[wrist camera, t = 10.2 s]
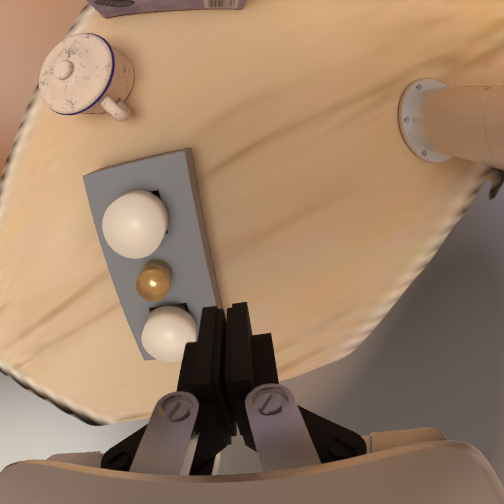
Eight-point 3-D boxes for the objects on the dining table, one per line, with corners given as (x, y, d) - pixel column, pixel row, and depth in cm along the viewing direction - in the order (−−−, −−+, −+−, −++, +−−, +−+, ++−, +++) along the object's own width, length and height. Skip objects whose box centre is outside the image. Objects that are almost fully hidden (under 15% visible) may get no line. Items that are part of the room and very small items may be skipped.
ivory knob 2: (193, 279, 41) (187, 317, 33) (203, 318, 44) (200, 359, 36) (149, 285, 41) (133, 323, 33) (161, 323, 44) (151, 364, 35)
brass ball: (168, 256, 35) (163, 269, 32) (175, 284, 36) (171, 299, 33) (139, 261, 35) (131, 275, 31) (147, 288, 36) (141, 303, 33)
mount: (190, 147, 36) (184, 151, 31) (226, 325, 46) (227, 351, 41) (101, 168, 36) (82, 176, 30) (151, 335, 46) (144, 360, 40)
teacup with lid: (61, 87, 31) (11, 80, 20) (109, 36, 29) (70, 10, 18) (114, 145, 35) (73, 154, 24) (165, 94, 33) (141, 80, 22)
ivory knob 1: (170, 175, 36) (155, 190, 28) (181, 225, 38) (170, 253, 30) (122, 186, 36) (95, 203, 27) (134, 234, 38) (112, 263, 30)
